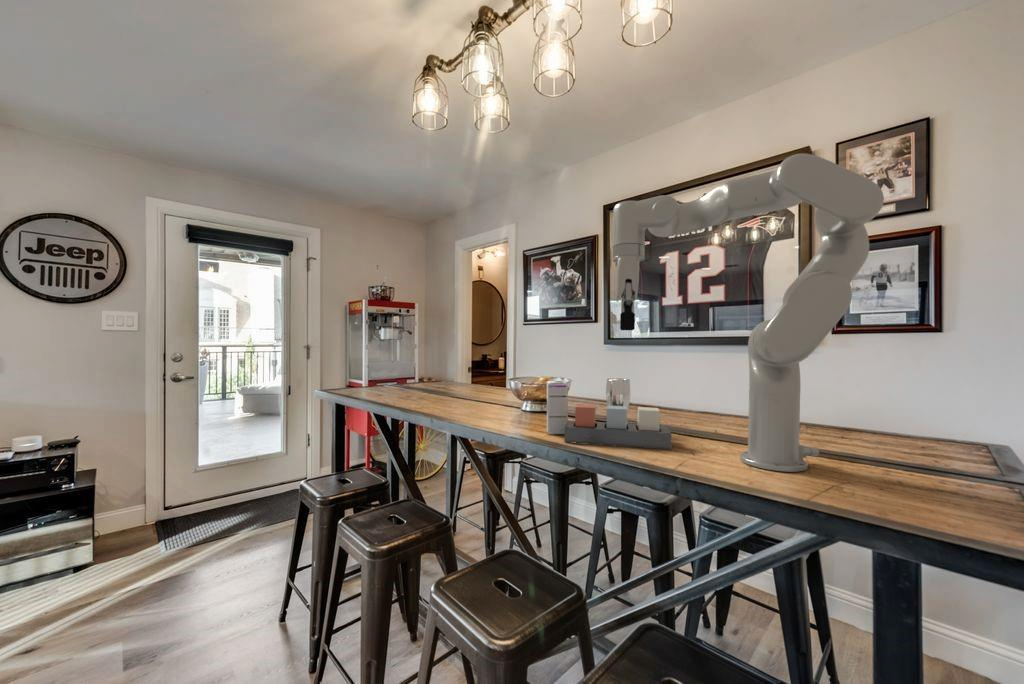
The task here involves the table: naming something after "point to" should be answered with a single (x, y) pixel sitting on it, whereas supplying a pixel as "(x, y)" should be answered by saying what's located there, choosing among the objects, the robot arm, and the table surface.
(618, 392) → the beer glass
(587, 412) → the key red
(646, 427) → the key ivory
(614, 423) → the grey cube
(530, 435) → the table surface
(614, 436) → the grey slotted holder
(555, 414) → the syrup box
